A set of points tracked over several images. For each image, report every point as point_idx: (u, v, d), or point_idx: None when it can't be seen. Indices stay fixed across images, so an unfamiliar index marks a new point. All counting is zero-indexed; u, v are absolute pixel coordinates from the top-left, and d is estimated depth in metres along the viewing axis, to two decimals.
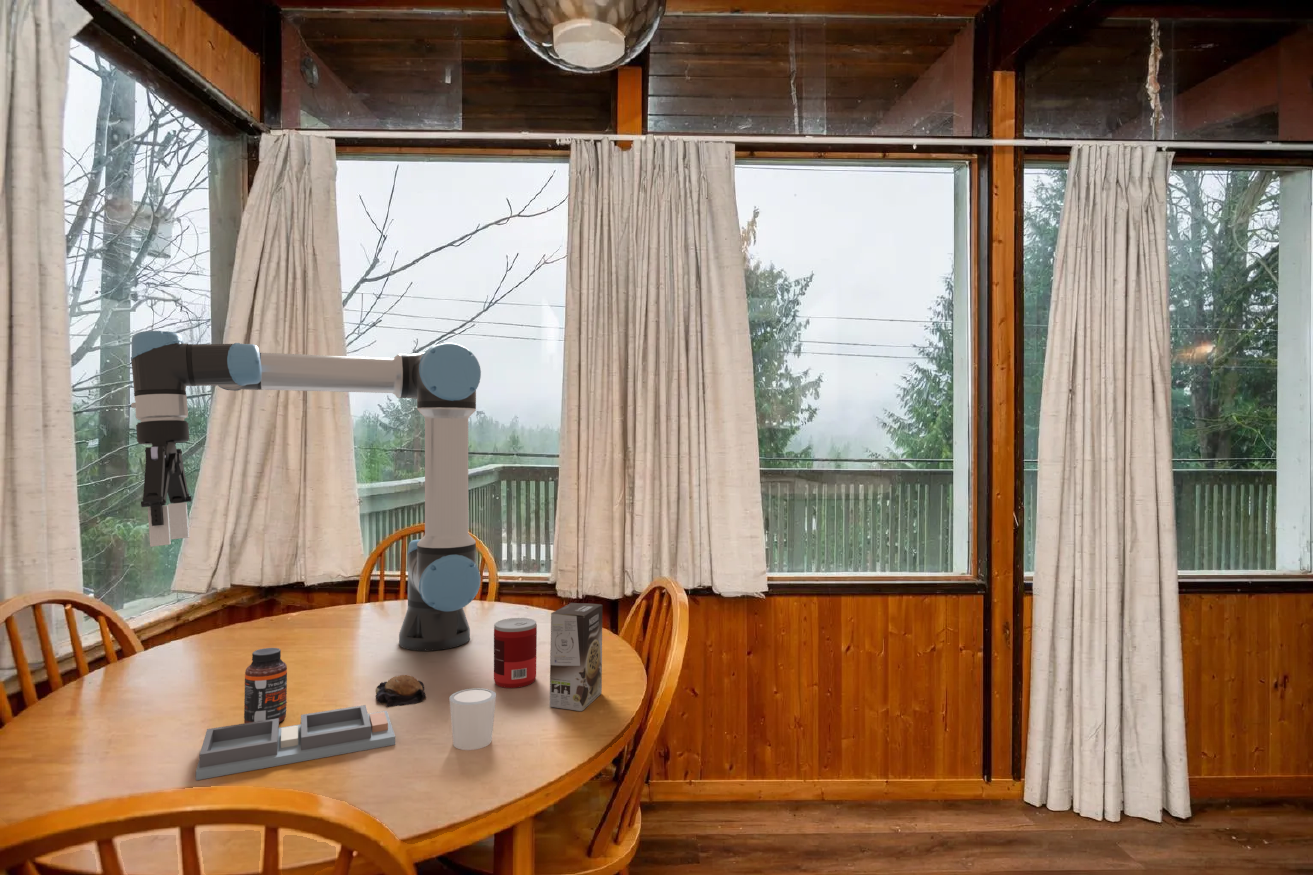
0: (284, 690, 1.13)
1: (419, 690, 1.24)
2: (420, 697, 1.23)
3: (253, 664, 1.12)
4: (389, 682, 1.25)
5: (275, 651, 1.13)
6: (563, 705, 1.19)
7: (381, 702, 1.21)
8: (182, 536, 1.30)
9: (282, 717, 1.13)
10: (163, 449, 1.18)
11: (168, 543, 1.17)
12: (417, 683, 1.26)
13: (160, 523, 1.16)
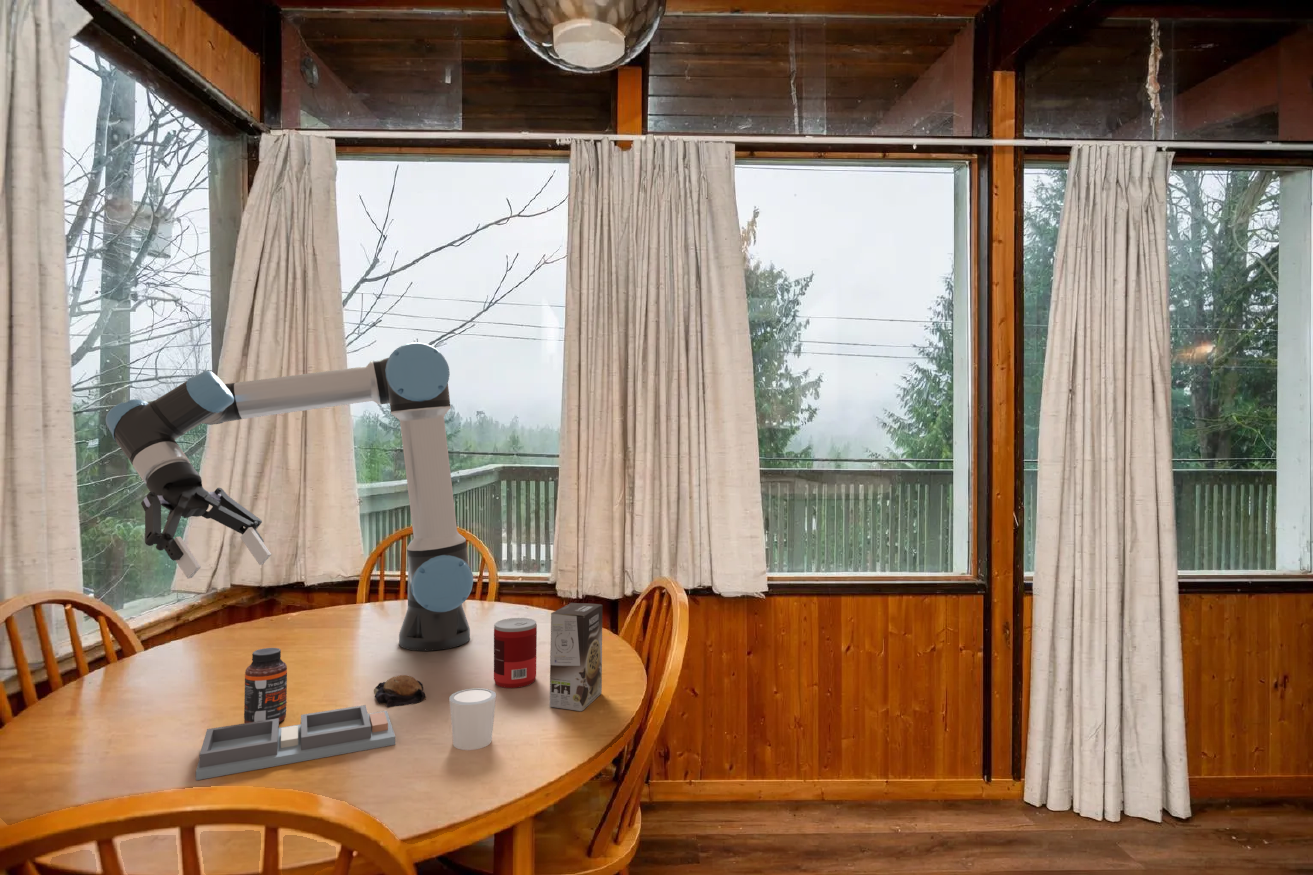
0: (284, 690, 1.13)
1: (419, 690, 1.24)
2: (420, 697, 1.23)
3: (253, 664, 1.12)
4: (388, 682, 1.25)
5: (275, 651, 1.13)
6: (563, 705, 1.19)
7: (381, 702, 1.21)
8: (264, 556, 1.26)
9: (282, 717, 1.13)
10: (150, 494, 1.17)
11: (195, 567, 1.13)
12: (416, 683, 1.26)
13: (175, 554, 1.13)
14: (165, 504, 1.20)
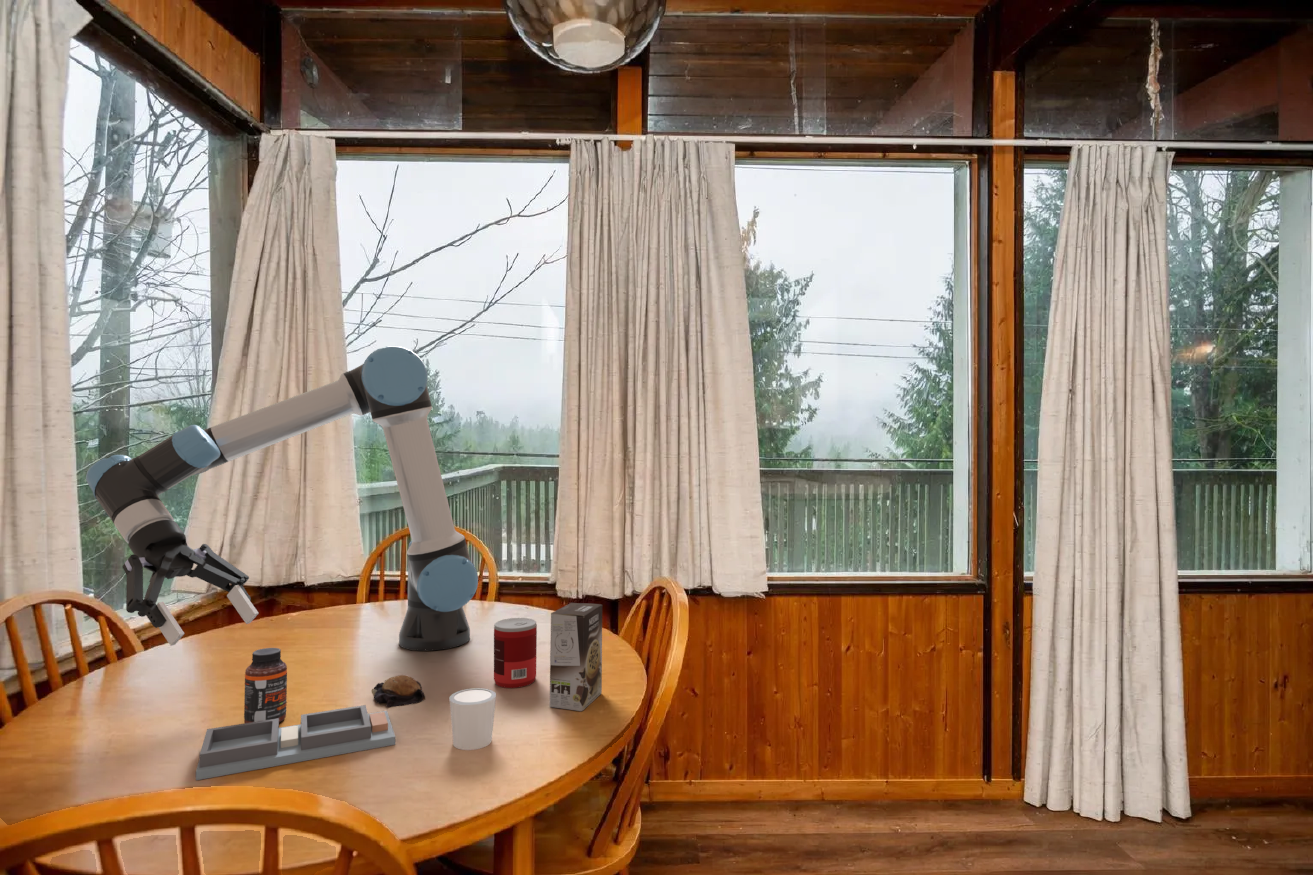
0: (284, 690, 1.13)
1: (418, 690, 1.24)
2: (419, 697, 1.24)
3: (253, 664, 1.12)
4: (387, 682, 1.25)
5: (275, 651, 1.13)
6: (563, 705, 1.19)
7: (380, 703, 1.21)
8: (251, 615, 1.22)
9: (282, 717, 1.13)
10: (132, 557, 1.13)
11: (178, 634, 1.09)
12: (415, 683, 1.26)
13: (158, 621, 1.09)
14: (148, 566, 1.16)
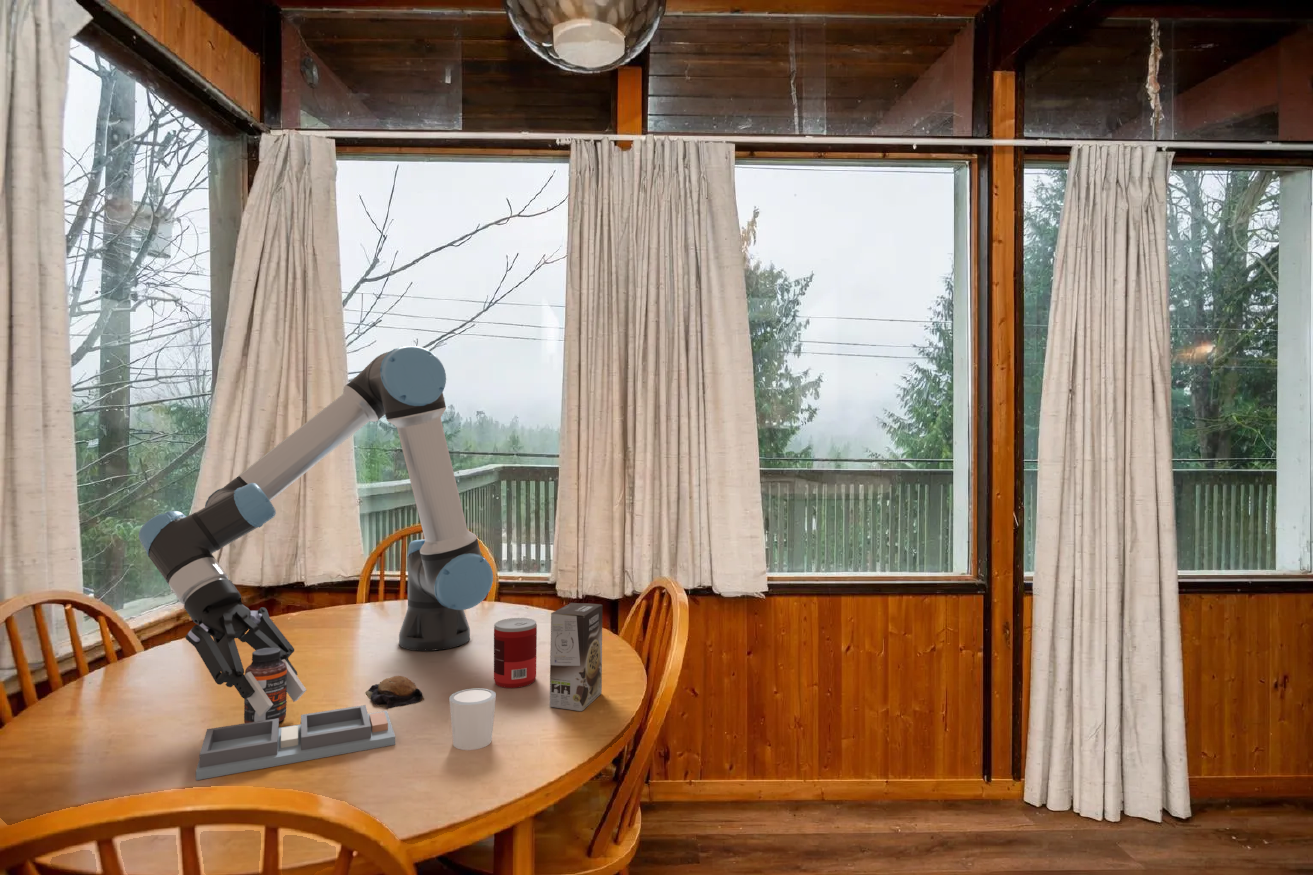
0: (284, 690, 1.13)
1: (416, 690, 1.24)
2: (418, 697, 1.24)
3: (253, 664, 1.12)
4: (383, 684, 1.24)
5: (275, 651, 1.13)
6: (563, 705, 1.19)
7: (379, 704, 1.21)
8: (298, 693, 1.15)
9: (282, 717, 1.13)
10: (196, 628, 1.09)
11: (267, 705, 1.08)
12: (412, 683, 1.25)
13: (247, 692, 1.08)
14: (205, 629, 1.12)
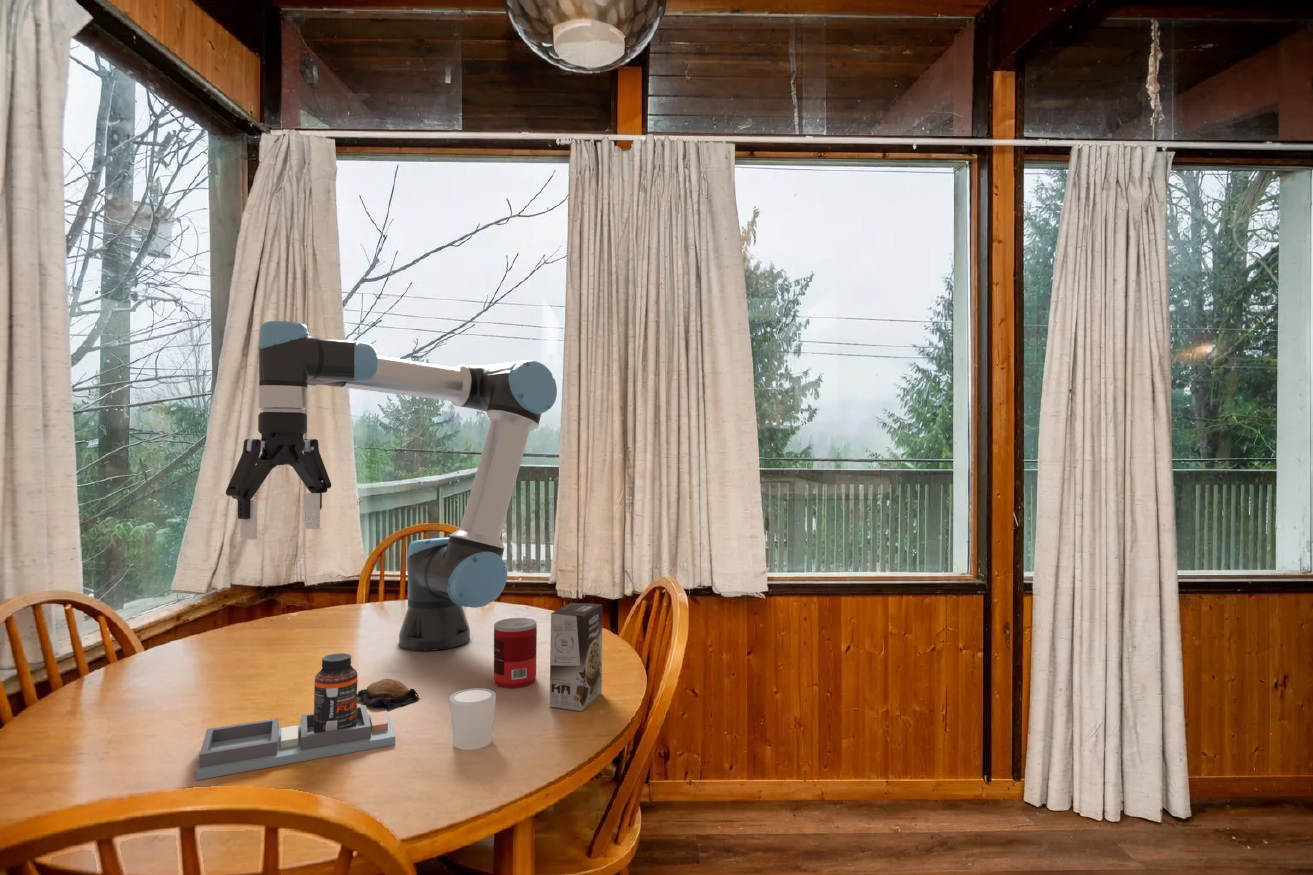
0: (355, 698, 1.07)
1: (411, 690, 1.24)
2: (413, 696, 1.24)
3: (323, 671, 1.05)
4: (375, 687, 1.22)
5: (346, 657, 1.06)
6: (563, 705, 1.19)
7: (378, 707, 1.19)
8: (312, 527, 1.29)
9: None
10: (256, 442, 1.17)
11: (252, 538, 1.16)
12: (403, 684, 1.25)
13: (243, 517, 1.15)
14: (263, 448, 1.20)
